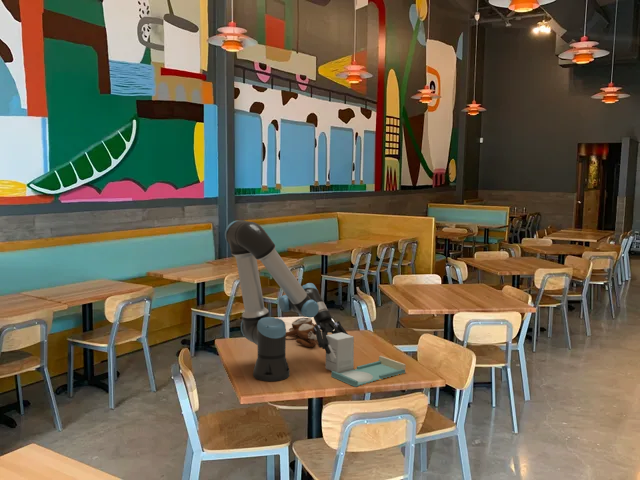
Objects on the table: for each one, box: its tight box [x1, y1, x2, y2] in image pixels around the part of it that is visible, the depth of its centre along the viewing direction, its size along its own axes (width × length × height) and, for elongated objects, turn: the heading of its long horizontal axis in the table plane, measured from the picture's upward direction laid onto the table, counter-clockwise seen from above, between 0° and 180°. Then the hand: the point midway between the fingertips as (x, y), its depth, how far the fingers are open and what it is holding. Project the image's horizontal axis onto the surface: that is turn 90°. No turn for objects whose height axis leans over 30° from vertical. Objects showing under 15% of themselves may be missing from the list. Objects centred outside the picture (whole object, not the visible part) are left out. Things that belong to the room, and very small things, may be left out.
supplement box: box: [325, 332, 355, 373], centre depth 246 cm, size 9×9×15 cm
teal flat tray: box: [330, 355, 407, 388], centre depth 240 cm, size 28×15×4 cm, turn 128°
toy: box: [286, 317, 323, 348], centre depth 290 cm, size 22×10×30 cm
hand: (343, 357), depth 244 cm, fingers closed on supplement box, 9 cm apart
